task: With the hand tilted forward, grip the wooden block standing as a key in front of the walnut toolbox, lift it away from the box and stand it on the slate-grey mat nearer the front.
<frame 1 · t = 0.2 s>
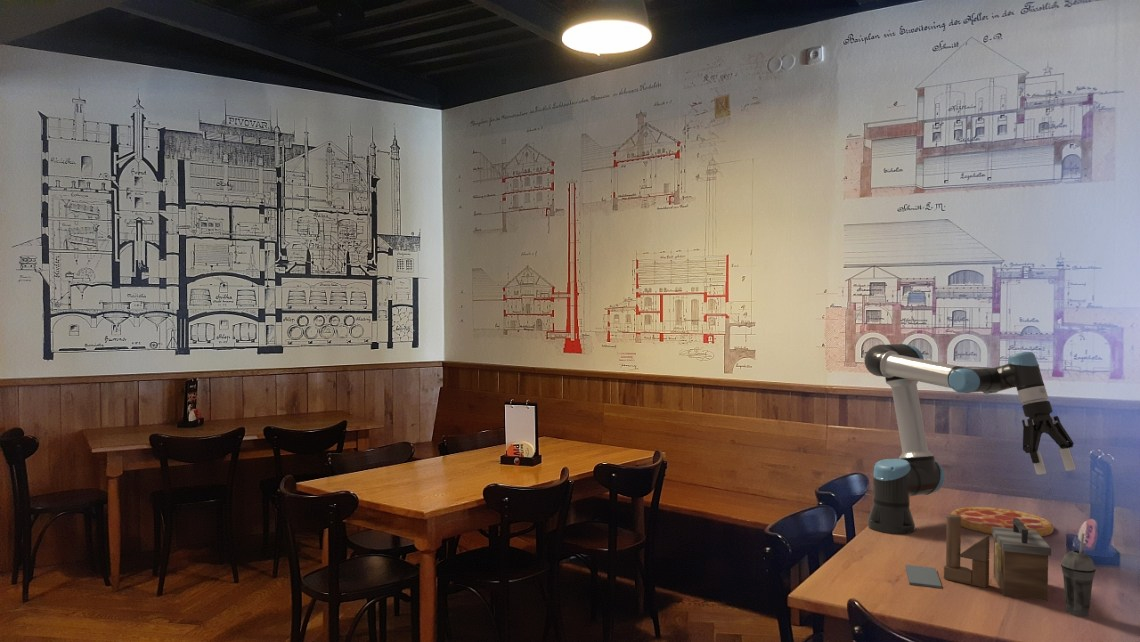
hand: (1056, 472, 229), 28 cm above the table, tool tilted 20°, fingers open, 13 cm apart
mat: (922, 577, 217), on the table
beverage cup: (1077, 614, 192), on the table
pizza: (1000, 526, 273), on the table
toolbox: (1019, 588, 209), on the table
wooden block: (966, 582, 214), on the table
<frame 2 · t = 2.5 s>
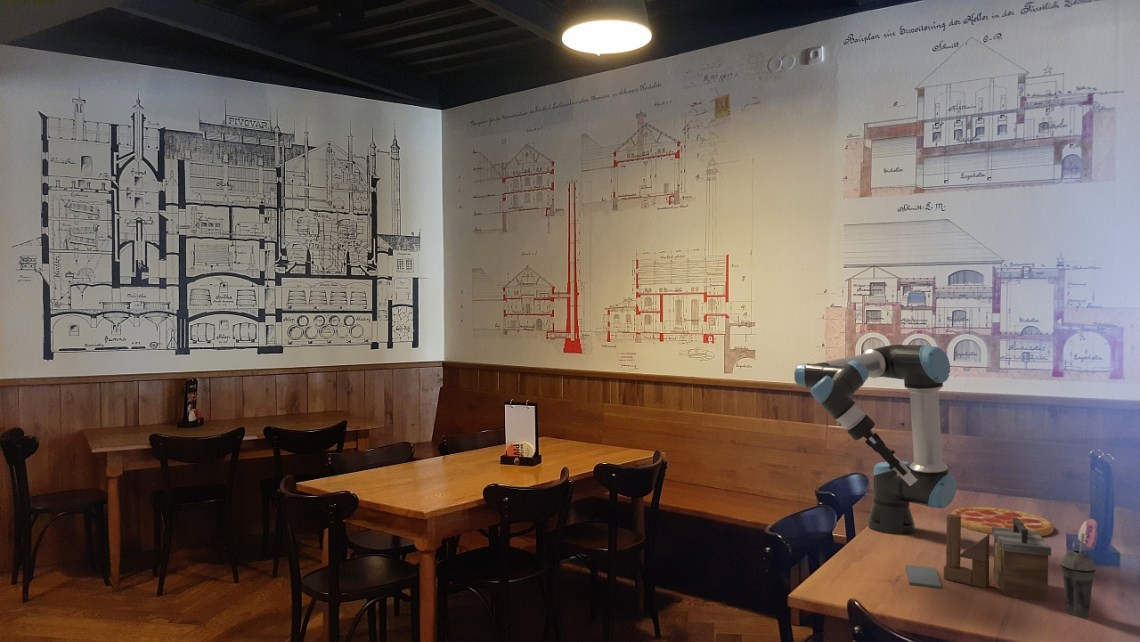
hand: (910, 478, 219), 28 cm above the table, tool tilted 45°, fingers open, 13 cm apart
nothing on the table moved.
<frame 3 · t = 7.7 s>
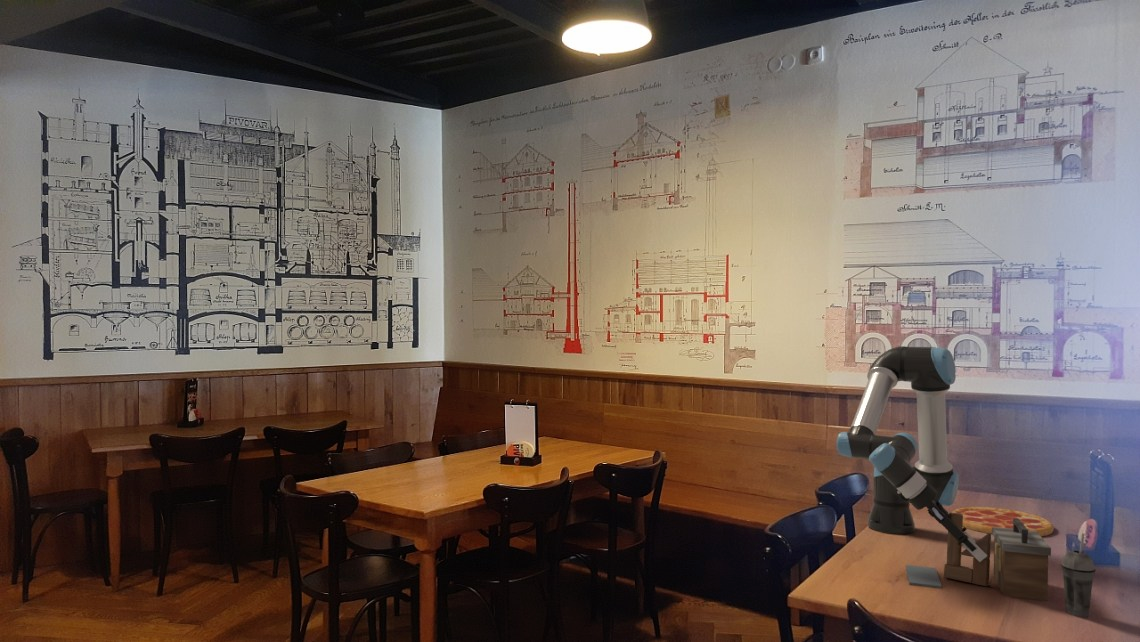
hand: (981, 555, 212), 8 cm above the table, tool tilted 45°, fingers closed on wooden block, 5 cm apart
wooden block: (966, 581, 214), on the table, touching gripper, hand
everything else where it was.
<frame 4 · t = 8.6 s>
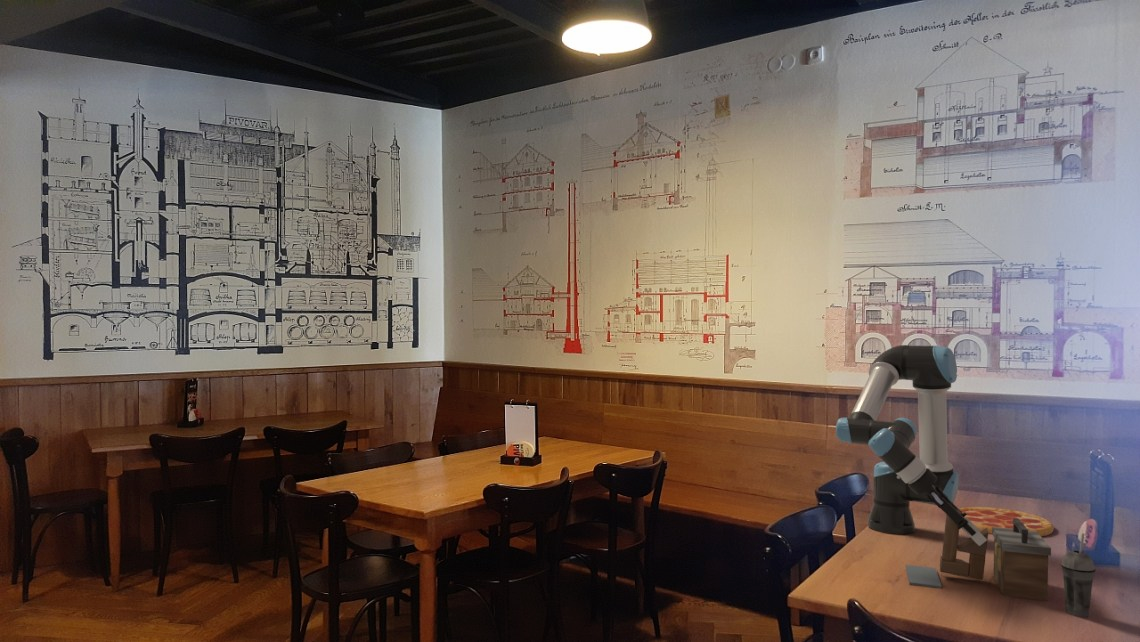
hand: (981, 540, 212), 12 cm above the table, tool tilted 45°
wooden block: (960, 574, 216), point 1 cm above the table, touching gripper
everything else where it was.
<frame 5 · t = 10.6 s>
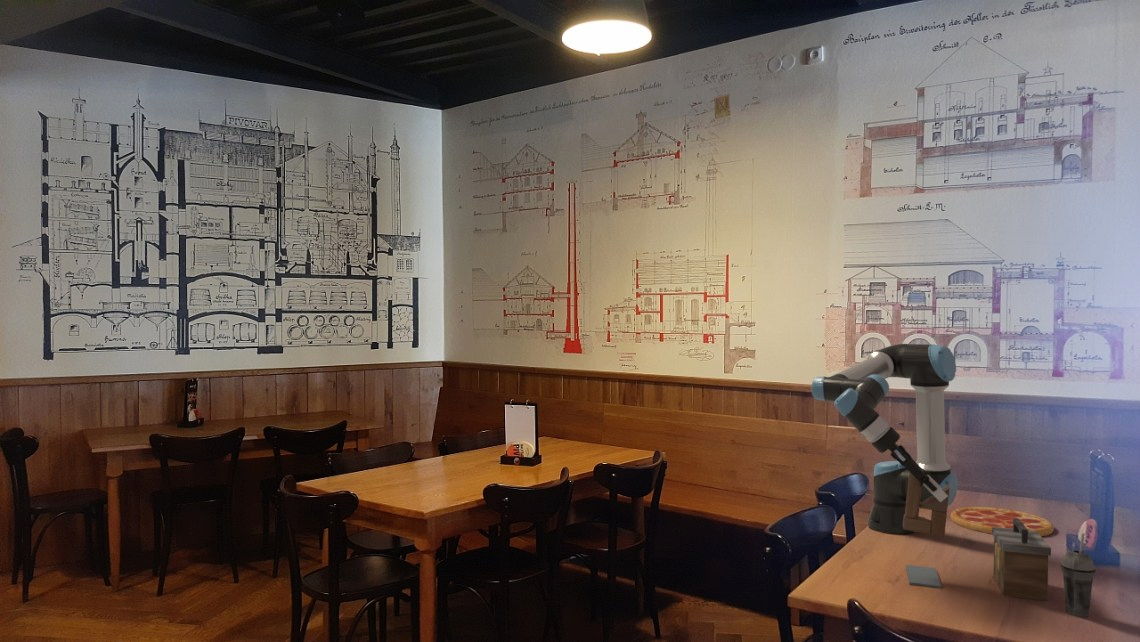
hand: (942, 496, 216), 23 cm above the table, tool tilted 45°
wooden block: (923, 531, 220), point 12 cm above the table, touching gripper
everything else where it was.
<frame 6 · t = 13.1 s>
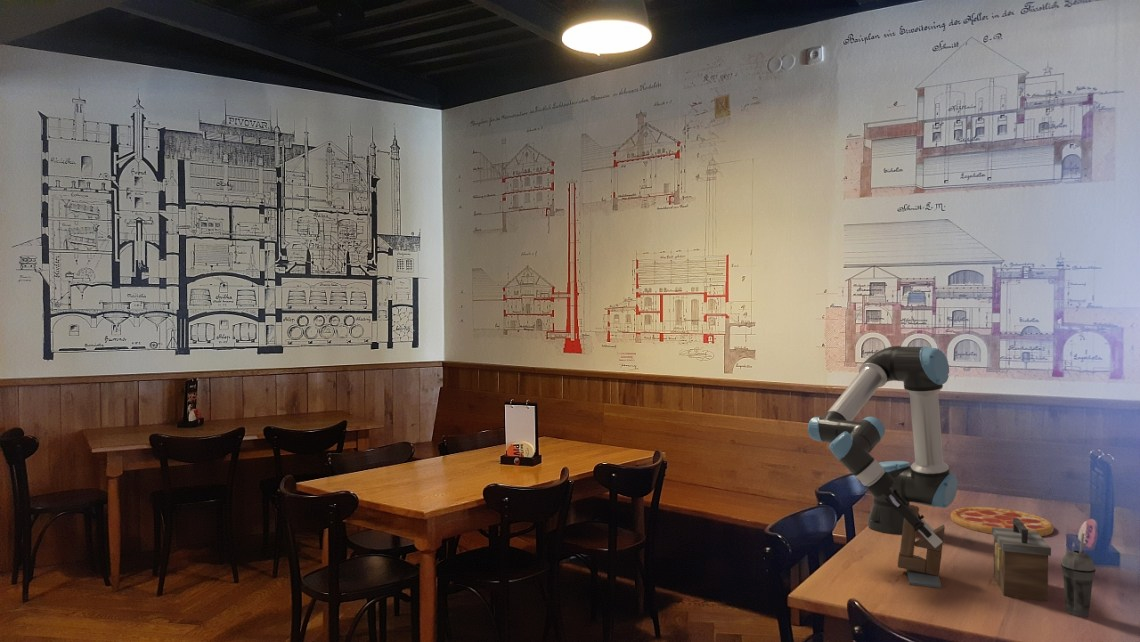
hand: (937, 542, 216), 10 cm above the table, tool tilted 45°, fingers open, 4 cm apart
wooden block: (917, 570, 220), point 1 cm above the table, touching gripper, mat
everything else where it was.
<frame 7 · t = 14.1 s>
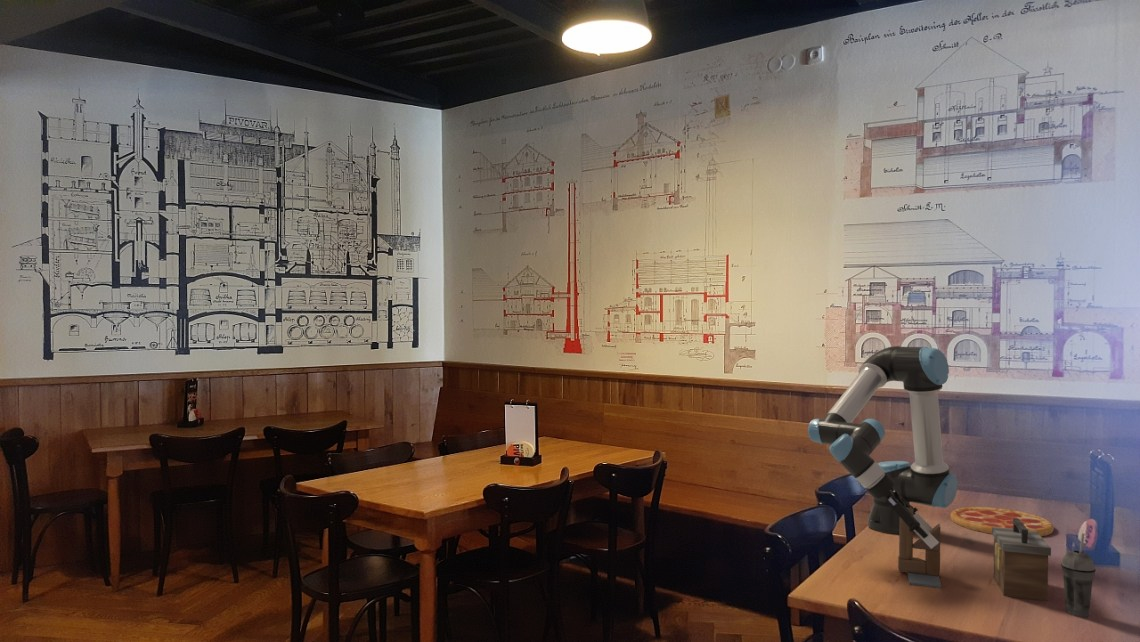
hand: (932, 538, 216), 11 cm above the table, tool tilted 45°, fingers open, 13 cm apart
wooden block: (918, 572, 220), on the table, touching mat
everything else where it was.
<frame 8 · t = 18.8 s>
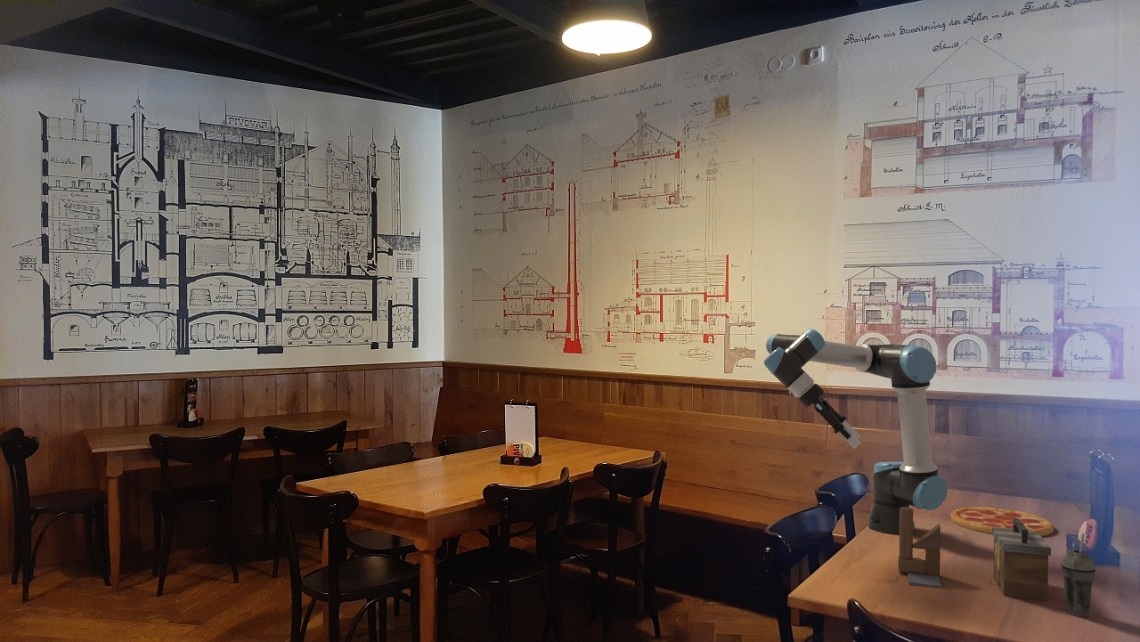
hand: (857, 442, 232), 36 cm above the table, tool tilted 45°, fingers open, 13 cm apart
nothing on the table moved.
at the end: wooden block inside the target area (2.5 cm from its centre), on the table; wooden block tilted 0°; the gripper is holding nothing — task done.
